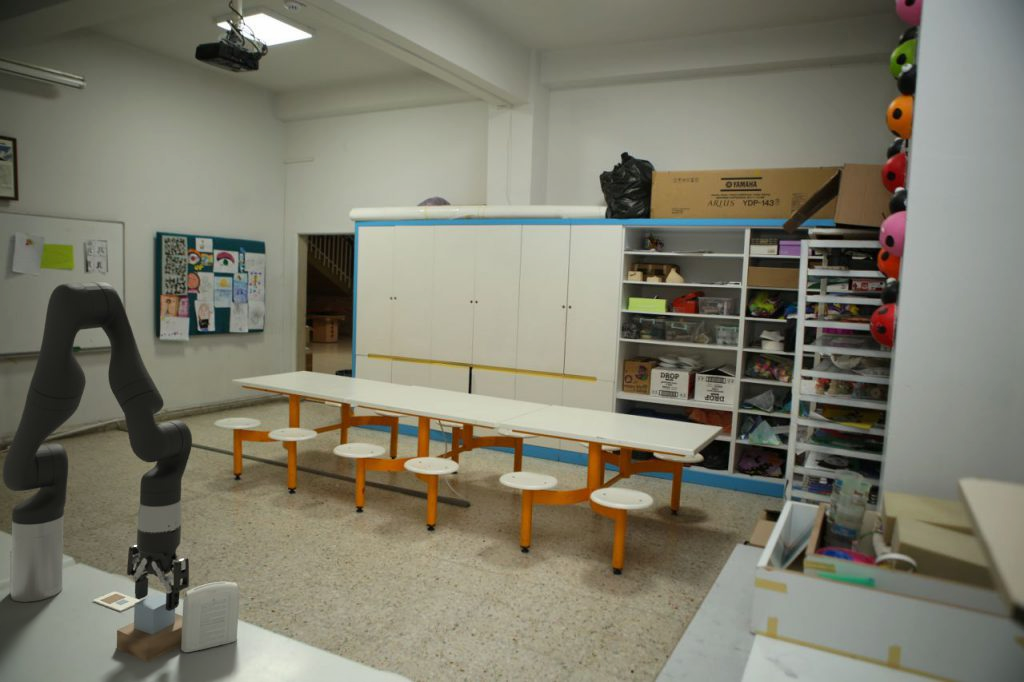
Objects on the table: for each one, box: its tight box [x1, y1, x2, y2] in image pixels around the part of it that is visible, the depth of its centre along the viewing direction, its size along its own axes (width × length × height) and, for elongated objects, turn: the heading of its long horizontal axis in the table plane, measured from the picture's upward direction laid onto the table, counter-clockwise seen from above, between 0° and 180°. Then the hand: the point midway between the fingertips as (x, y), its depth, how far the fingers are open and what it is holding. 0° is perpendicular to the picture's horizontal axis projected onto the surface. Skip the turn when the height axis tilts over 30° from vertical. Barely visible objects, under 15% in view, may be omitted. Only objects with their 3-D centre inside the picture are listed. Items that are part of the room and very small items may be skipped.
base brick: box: [116, 612, 183, 663], centre depth 127 cm, size 9×10×4 cm
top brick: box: [133, 592, 176, 635], centre depth 126 cm, size 5×5×5 cm
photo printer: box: [180, 581, 240, 653], centre depth 128 cm, size 10×4×12 cm, turn 125°
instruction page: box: [92, 590, 141, 613], centre depth 142 cm, size 9×5×1 cm, turn 67°
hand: (156, 603), depth 127 cm, fingers open, 8 cm apart
